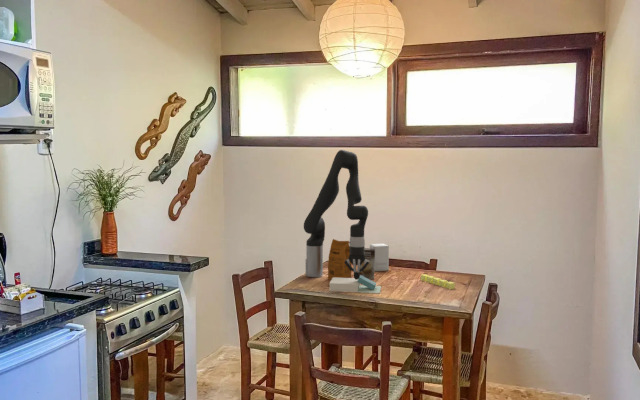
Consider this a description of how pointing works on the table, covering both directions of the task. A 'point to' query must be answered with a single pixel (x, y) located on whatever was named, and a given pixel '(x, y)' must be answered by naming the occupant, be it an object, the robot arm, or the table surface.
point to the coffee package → (339, 260)
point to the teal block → (366, 282)
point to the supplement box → (381, 257)
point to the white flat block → (344, 284)
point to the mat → (367, 290)
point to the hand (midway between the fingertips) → (356, 279)
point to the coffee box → (369, 269)
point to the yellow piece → (438, 281)
